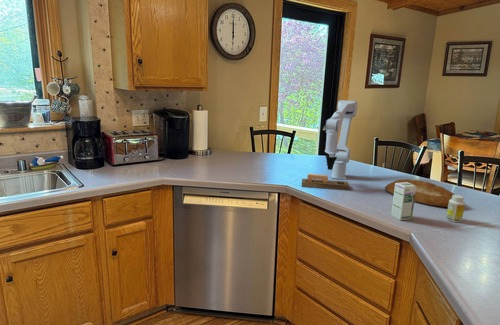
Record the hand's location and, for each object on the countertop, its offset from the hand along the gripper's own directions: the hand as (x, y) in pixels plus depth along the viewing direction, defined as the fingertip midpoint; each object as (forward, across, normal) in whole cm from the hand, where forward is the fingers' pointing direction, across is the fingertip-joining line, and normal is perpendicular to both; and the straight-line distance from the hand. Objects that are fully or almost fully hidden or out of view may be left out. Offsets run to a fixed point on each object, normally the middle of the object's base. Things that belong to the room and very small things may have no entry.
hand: (329, 167), depth 175 cm
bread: (+10, -10, -44) cm, 46 cm away
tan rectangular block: (+10, -2, +6) cm, 12 cm away
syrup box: (+10, -37, -28) cm, 47 cm away
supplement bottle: (+10, -35, -49) cm, 61 cm away
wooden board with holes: (+10, -2, +2) cm, 10 cm away
